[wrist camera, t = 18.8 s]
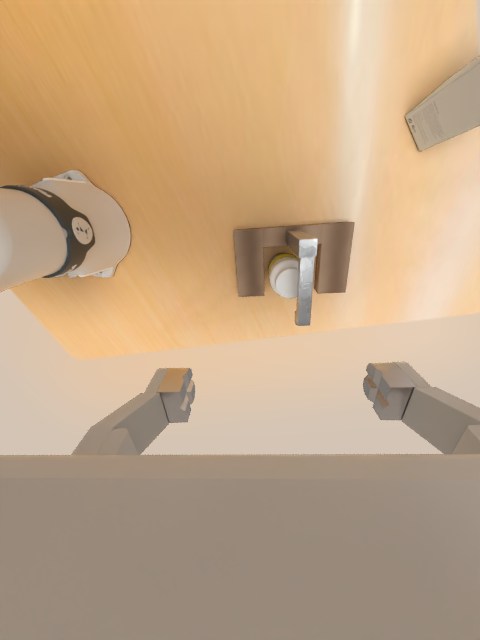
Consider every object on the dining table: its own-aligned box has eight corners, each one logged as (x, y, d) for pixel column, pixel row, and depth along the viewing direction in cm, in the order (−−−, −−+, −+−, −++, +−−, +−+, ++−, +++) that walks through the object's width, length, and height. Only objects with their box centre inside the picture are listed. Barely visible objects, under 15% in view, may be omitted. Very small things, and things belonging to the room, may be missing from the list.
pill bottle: (299, 283, 45) (310, 303, 35) (267, 283, 46) (270, 304, 36) (301, 251, 43) (314, 263, 33) (268, 252, 43) (270, 264, 33)
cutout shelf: (239, 291, 47) (238, 296, 44) (235, 229, 42) (233, 230, 39) (340, 287, 45) (345, 292, 42) (348, 221, 40) (354, 222, 37)
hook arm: (283, 290, 46) (296, 330, 31) (284, 229, 41) (299, 239, 26) (293, 290, 46) (311, 329, 31) (295, 228, 41) (317, 238, 26)
